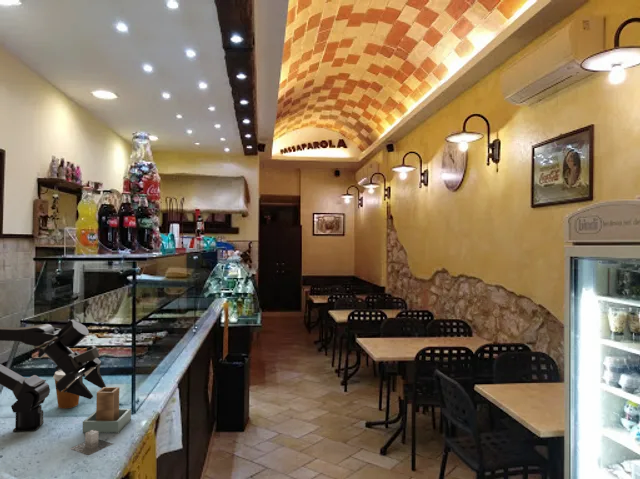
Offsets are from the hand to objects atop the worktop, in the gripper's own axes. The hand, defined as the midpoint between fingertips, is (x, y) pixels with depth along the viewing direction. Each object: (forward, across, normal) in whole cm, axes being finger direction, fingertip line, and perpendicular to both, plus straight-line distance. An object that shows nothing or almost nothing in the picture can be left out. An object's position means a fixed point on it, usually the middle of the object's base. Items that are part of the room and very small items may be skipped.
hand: (98, 392), depth 146 cm
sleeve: (+9, 0, +5) cm, 11 cm away
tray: (+10, 0, +6) cm, 11 cm away
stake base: (+11, -14, +5) cm, 18 cm away
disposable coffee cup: (-5, +19, +21) cm, 29 cm away
